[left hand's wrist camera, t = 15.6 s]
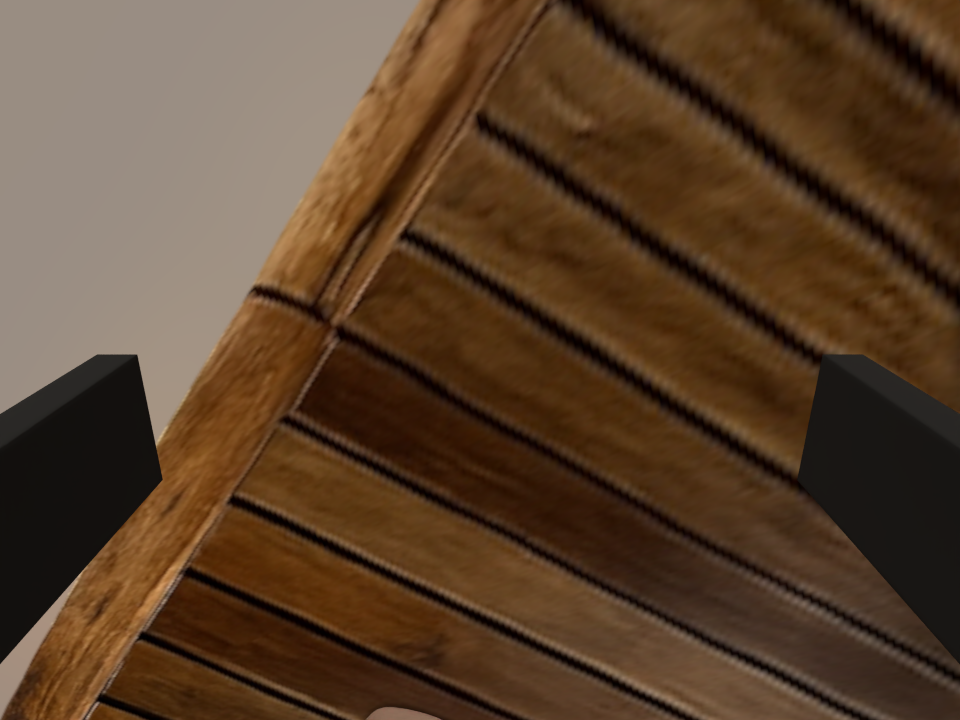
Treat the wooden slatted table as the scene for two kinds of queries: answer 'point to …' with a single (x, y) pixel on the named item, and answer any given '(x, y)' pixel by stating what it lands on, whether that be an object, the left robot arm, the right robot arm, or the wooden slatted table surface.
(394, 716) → the anatomical model
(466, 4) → the wooden slatted table surface
